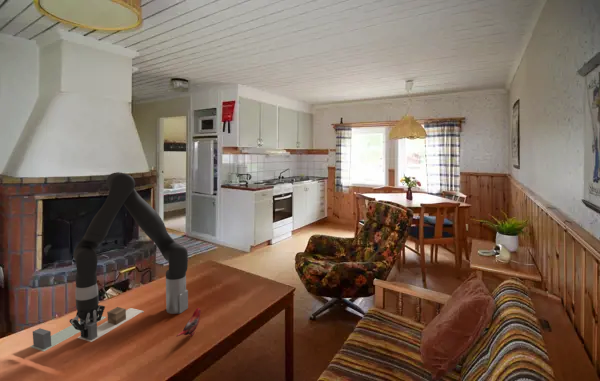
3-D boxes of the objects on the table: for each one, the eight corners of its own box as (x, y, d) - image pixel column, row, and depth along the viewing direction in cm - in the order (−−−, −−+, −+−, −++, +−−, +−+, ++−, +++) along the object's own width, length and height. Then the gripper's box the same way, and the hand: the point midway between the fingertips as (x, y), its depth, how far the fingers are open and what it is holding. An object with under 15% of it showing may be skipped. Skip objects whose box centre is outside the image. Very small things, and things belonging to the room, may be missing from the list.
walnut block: (126, 319, 137) (125, 308, 137) (116, 324, 133) (115, 314, 132) (117, 317, 139) (117, 306, 138) (107, 322, 134) (107, 312, 133)
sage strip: (106, 319, 138) (106, 304, 138) (44, 353, 114) (42, 336, 113) (93, 315, 141) (93, 301, 140) (29, 349, 116) (28, 332, 115)
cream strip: (143, 312, 145) (143, 299, 144) (91, 344, 120) (90, 327, 120) (130, 309, 147) (130, 296, 147) (77, 339, 123) (76, 323, 122)
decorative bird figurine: (203, 327, 135) (203, 306, 134) (179, 351, 118) (179, 327, 117) (198, 326, 136) (197, 305, 135) (173, 350, 119) (172, 326, 117)
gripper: (76, 304, 114) (78, 347, 116) (109, 289, 127) (111, 328, 129) (62, 301, 116) (64, 342, 118) (96, 286, 129) (98, 324, 131)
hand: (89, 334), depth 123 cm, fingers closed on cream strip, 2 cm apart
